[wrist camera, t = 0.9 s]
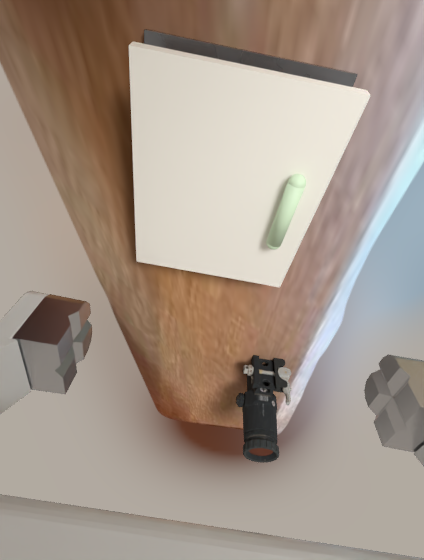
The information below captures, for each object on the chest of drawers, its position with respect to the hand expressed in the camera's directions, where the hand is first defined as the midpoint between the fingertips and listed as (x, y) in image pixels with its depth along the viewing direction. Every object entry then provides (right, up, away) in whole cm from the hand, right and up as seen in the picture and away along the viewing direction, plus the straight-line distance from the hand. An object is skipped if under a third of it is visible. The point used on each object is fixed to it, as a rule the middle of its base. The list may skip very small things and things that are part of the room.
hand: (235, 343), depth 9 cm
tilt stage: (+1, +10, +23) cm, 25 cm away
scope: (+8, -15, +50) cm, 53 cm away
